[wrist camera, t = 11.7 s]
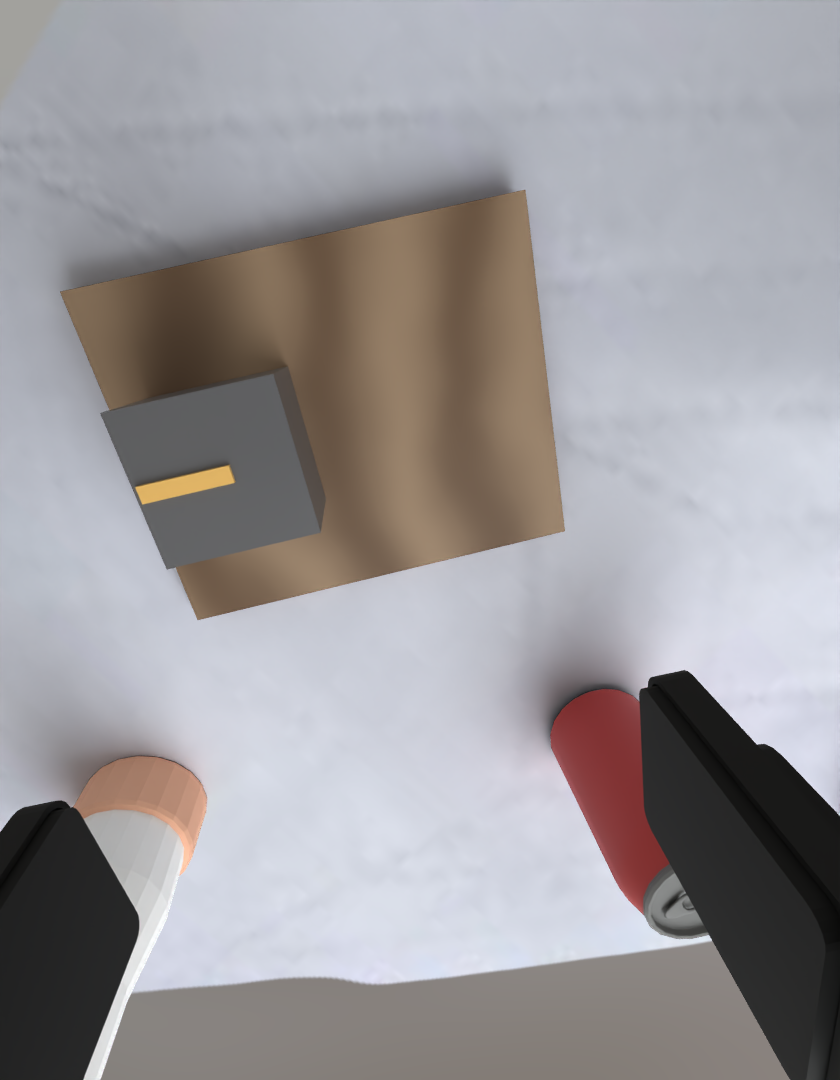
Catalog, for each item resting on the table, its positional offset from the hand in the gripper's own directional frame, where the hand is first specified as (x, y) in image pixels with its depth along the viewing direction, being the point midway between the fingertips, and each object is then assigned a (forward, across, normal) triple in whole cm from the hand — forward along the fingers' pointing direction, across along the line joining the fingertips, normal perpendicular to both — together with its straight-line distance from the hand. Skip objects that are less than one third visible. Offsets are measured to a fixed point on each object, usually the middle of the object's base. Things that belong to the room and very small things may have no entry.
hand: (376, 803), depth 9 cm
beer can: (+22, -11, +20) cm, 31 cm away
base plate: (+21, +1, -3) cm, 21 cm away
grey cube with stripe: (+19, +6, -3) cm, 20 cm away
